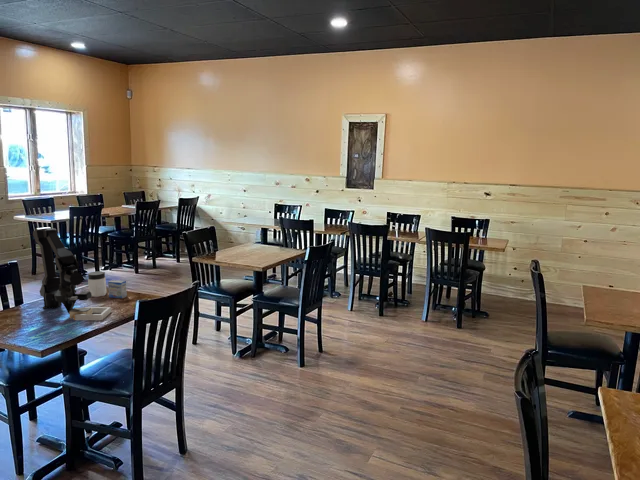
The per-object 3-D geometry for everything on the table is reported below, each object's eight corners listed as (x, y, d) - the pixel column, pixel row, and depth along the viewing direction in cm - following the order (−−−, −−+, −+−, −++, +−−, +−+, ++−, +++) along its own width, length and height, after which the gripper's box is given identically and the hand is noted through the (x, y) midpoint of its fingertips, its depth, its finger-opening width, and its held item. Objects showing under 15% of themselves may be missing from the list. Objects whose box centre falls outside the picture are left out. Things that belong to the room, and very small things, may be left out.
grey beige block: (69, 319, 215) (69, 310, 215) (75, 315, 220) (74, 307, 220) (87, 319, 216) (86, 311, 215) (92, 315, 221) (91, 307, 220)
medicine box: (108, 297, 247) (107, 281, 245) (113, 295, 251) (112, 279, 250) (122, 298, 246) (121, 282, 244) (127, 296, 250) (126, 280, 249)
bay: (73, 320, 213) (73, 315, 213) (84, 312, 224) (84, 307, 224) (101, 320, 214) (101, 314, 214) (111, 312, 225) (110, 307, 224)
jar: (91, 298, 246) (90, 276, 244) (86, 294, 252) (84, 272, 249) (109, 294, 252) (107, 273, 250) (103, 291, 258) (102, 270, 255)
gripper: (37, 285, 207) (40, 319, 210) (80, 286, 208) (82, 319, 211) (49, 279, 218) (52, 311, 221) (90, 279, 219) (93, 311, 222)
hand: (69, 313), depth 218 cm, fingers closed
